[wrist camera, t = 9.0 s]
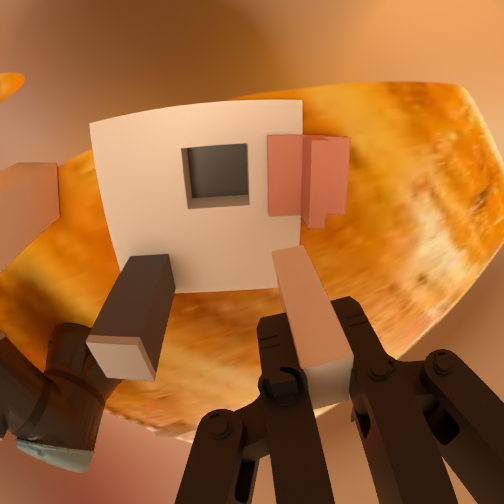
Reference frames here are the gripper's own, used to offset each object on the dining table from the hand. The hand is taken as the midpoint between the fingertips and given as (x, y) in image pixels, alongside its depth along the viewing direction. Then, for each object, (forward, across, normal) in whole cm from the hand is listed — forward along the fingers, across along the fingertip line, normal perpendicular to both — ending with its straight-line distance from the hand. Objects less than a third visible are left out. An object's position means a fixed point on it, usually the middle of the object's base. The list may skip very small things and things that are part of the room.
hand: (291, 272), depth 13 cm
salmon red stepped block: (+14, +5, 0) cm, 15 cm away
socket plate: (+18, -6, -1) cm, 19 cm away
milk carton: (+19, -27, +7) cm, 33 cm away
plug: (+15, -13, -7) cm, 21 cm away
